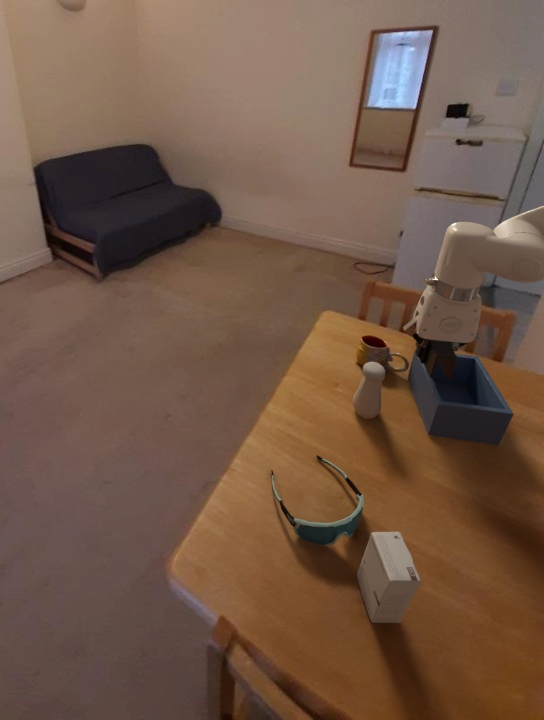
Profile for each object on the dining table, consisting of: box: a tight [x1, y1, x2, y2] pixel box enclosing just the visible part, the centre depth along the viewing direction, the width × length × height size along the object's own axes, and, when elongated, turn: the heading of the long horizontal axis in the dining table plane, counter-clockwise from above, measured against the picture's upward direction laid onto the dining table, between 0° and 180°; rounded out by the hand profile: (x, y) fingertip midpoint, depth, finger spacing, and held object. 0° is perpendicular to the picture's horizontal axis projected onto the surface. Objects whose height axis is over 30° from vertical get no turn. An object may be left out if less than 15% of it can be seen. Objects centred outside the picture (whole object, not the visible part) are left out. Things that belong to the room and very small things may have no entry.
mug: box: [355, 334, 410, 373], centre depth 100 cm, size 12×7×7 cm, turn 45°
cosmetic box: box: [356, 531, 422, 624], centre depth 57 cm, size 6×4×12 cm
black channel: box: [415, 340, 457, 380], centre depth 83 cm, size 4×10×6 cm, turn 168°
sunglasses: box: [270, 454, 365, 546], centre depth 72 cm, size 14×15×5 cm
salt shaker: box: [352, 362, 386, 420], centre depth 86 cm, size 6×6×13 cm
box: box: [406, 349, 514, 446], centre depth 87 cm, size 13×16×9 cm
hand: (432, 359), depth 84 cm, fingers closed on black channel, 3 cm apart
